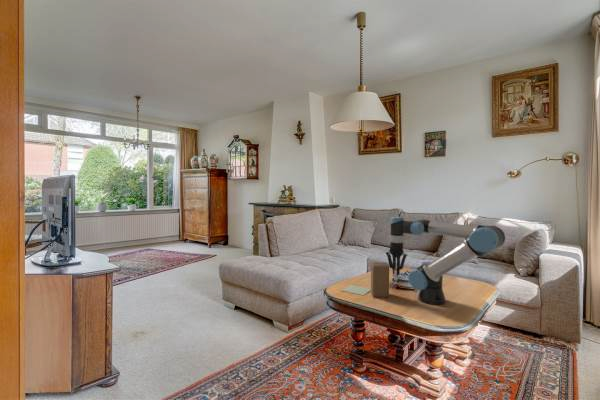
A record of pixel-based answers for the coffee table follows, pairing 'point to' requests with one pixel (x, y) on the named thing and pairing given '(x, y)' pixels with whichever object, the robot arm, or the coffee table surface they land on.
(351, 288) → the mat
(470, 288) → the coffee table surface
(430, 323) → the coffee table surface
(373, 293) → the block
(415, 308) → the coffee table surface
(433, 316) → the coffee table surface
